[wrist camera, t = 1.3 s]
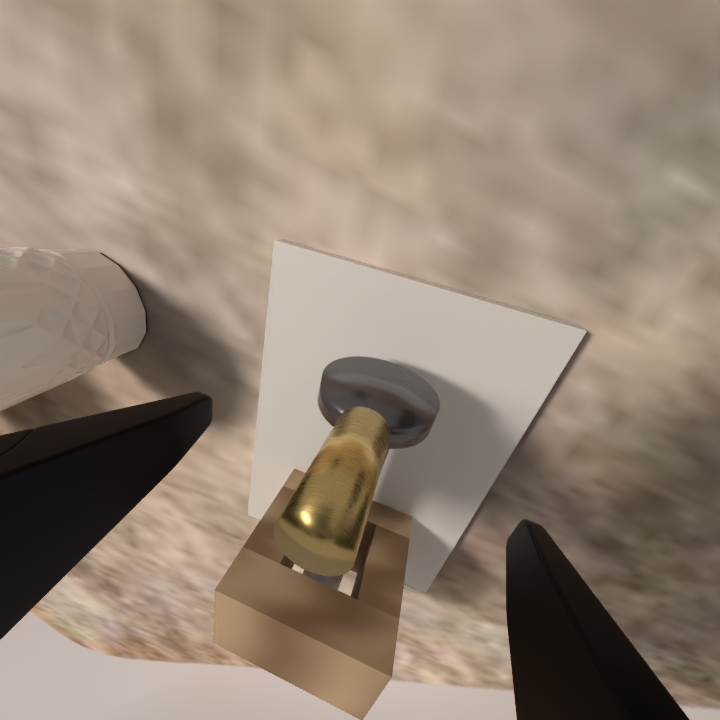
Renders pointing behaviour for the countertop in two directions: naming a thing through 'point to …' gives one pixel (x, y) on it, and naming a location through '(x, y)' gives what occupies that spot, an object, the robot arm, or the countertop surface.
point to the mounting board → (420, 355)
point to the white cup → (61, 318)
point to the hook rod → (352, 460)
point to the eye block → (317, 610)
